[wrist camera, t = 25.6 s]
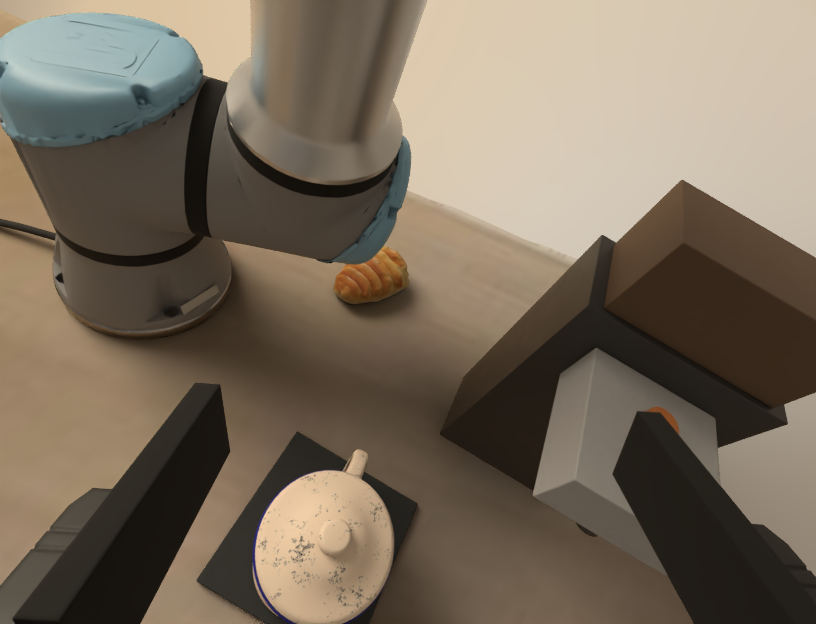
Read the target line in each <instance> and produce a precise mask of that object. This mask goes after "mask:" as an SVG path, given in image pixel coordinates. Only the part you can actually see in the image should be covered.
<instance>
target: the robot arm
mask: <svg viewBox="0 0 816 624" xmlns="http://www.w3.org/2000/svg"><path fill="white" fill-rule="evenodd" d="M426 3H427V0H251V57H250V58H248V59H247V60H245V61H244V62H242V63H241V64H240V65H239V66H238V67H237V68H236V69H235V71H234V72H233V74H232V76H231V77H230V80H229V82H228V83H227V82H223V81H220V80H217V79H213V78H210V77H207V76H204V75H203V69H202V63H201V62H200V60H199V58H198V55H197V53H196V51H195V49H194V48H193V47H192V45H191V44H190V43H189V42H188V41H187V40H186V39H184V38H181V37H179V35H178V34H177V33H176V32H175V31H173V30H171V29H169V28H167V27H165V26H163V25H160V24H157V23H155V22H151V21H148V20H145V19H141V18H135V17H131V16H124V15H118V14H109V13H73V14H64V15H59V16H51V17H46V18H41V19H38V20H34V21H31V22H28V23H25V24H23V25H21V26H18V27H16V28H15V29H13V30H11V31H10V32H8V33H7V34H5V35H4V36H2V37H1V38H0V116H1V117H0V121H1V125H2V127H3V129H4V131H5V132H6V133H7V135H8V136H10V138H11V140H12V142H13V144H14V146H15V148H16V150H17V152H18V155H19V157H20V159H21V161H22V163H23V165H24V167H25V169H26V171H27V173H28V175H29V177H30V179H31V181H32V183H33V185H34V187H35V189H36V191H37V193H38V195H39V197H40V199H41V201H42V203H43V205H44V208H45V210H46V212H47V214H48V216H49V218H50V220H51V222H52V224H53V226H54V228H55V231H56V233H52V232H49V231H45V230H42V229H38V228H35V227H31V226H28V225H24V224H20V223H16V222H12V221H7V220H3V219H0V226H2V227H6V228H11V229H15V230H19V231H23V232H27V233H30V234H34V235H37V236H41V237H44V238H48V239H51V240H55V247H54V256H53V278H54V283H55V287H56V290H57V292H58V294H59V296H60V298H61V299H62V301H63V303H64V305H65V306H66V308H67V309H68V310H69V311H70V313H71V314H72V315H73V316H74V317H75V318H77V319H78V320H79V321H81V322H82V323H83V324H85V325H87V326H88V327H90V328H92V329H95V330H97V331H99V332H102V333H105V334H108V335H112V336H116V337H122V338H131V339H150V338H159V337H165V336H170V335H173V334H177V333H180V332H183V331H185V330H188V329H190V328H192V327H194V326H196V325H198V324H200V323H201V322H203V321H204V320H206V319H207V318H209V317H210V316H211V315H212V314H213V313H214V312H215V311H216V310H217V309H218V308H219V307H220V306H221V305H222V303H223V302H224V300H225V299H226V297H227V295H228V292H229V289H230V285H231V261H230V257H229V254H228V251H227V248H226V246H225V244H224V243H223V241H222V240H224V241H229V242H235V243H240V244H245V245H250V246H255V247H260V248H265V249H270V250H275V251H280V252H285V253H289V254H294V255H299V256H303V257H308V258H313V259H316V260H318V261H321V262H324V263H333V262H338V263H345V264H353V265H357V264H362V263H365V262H367V261H369V260H371V259H372V258H373V257H374V256H375V255H376V254H377V253H378V252H379V251H380V250H381V248H382V247H383V246H384V244H385V243H386V241H387V239H388V238H389V236H390V234H391V232H392V230H393V228H394V226H395V223H396V217H397V212H398V210H399V209H400V208H401V207H402V204H403V201H404V198H405V195H406V191H407V187H408V181H409V176H410V168H411V151H410V145H409V143H408V141H407V139H406V138H405V137H404V136H403V135H402V123H401V119H400V115H399V112H398V110H397V108H396V106H395V104H394V102H393V98H394V95H395V92H396V89H397V86H398V83H399V80H400V77H401V75H402V72H403V69H404V66H405V63H406V60H407V57H408V54H409V52H410V49H411V46H412V43H413V40H414V37H415V34H416V32H417V28H418V26H419V23H420V20H421V17H422V14H423V11H424V8H425V6H426ZM229 453H230V447H229V440H228V434H227V427H226V420H225V414H224V407H223V400H222V394H221V387H220V385H218V384H203V383H195V384H194V385H193V386H192V388H191V389H190V390H189V392H188V393H187V394H186V395H185V397H184V398H183V399H182V401H181V402H180V403H179V404H178V406H177V407H176V408H175V410H174V411H173V412H172V413H171V415H170V416H169V417H168V419H167V420H166V421H165V422H164V424H163V425H162V426H161V428H160V429H159V430H158V431H157V433H156V434H155V435H154V437H153V438H152V439H151V440H150V442H149V443H148V444H147V446H146V447H145V448H144V449H143V451H142V452H141V453H140V455H139V456H138V457H137V458H136V460H135V461H134V462H133V464H132V465H131V466H130V467H129V469H128V470H127V471H126V473H125V474H124V475H123V476H122V478H121V479H120V480H119V482H118V483H117V484H116V485H115V487H114V488H113V489H99V488H92V489H91V490H90V491H88V492H87V493H85V494H84V495H83V496H81V497H80V498H79V499H77V500H76V501H74V502H73V503H72V504H70V505H69V506H68V507H67V508H66V509H65V511H64V512H63V513H62V514H61V515H60V516H59V518H58V519H57V520H56V521H55V522H54V523H53V525H52V526H51V528H50V531H47V532H46V533H45V534H44V535H43V536H42V538H41V539H40V540H39V541H38V542H37V543H36V545H35V548H34V549H31V550H30V552H29V553H28V554H27V555H26V556H25V557H24V559H23V560H22V561H21V562H20V563H19V564H18V566H17V567H16V568H15V569H14V570H13V571H12V573H11V574H10V575H9V576H8V577H7V578H6V580H5V581H4V582H3V583H2V584H1V585H0V624H140V623H141V621H142V619H143V617H144V615H145V614H146V612H147V610H148V608H149V606H150V604H151V602H152V600H153V598H154V596H155V594H156V593H157V591H158V589H159V587H160V585H161V583H162V581H163V579H164V577H165V575H166V573H167V571H168V570H169V568H170V566H171V564H172V562H173V560H174V558H175V556H176V554H177V552H178V550H179V548H180V547H181V545H182V543H183V541H184V539H185V537H186V535H187V533H188V531H189V529H190V527H191V525H192V524H193V522H194V520H195V518H196V516H197V514H198V512H199V510H200V508H201V506H202V504H203V502H204V501H205V499H206V497H207V495H208V493H209V491H210V489H211V487H212V485H213V483H214V481H215V479H216V478H217V476H218V474H219V472H220V470H221V468H222V466H223V464H224V462H225V460H226V458H227V456H228V455H229ZM612 475H613V477H614V478H615V480H616V482H617V484H618V486H619V487H620V489H621V491H622V493H623V495H624V497H625V498H626V500H627V502H628V504H629V506H630V508H631V509H632V511H633V513H634V515H635V517H636V519H637V520H638V522H639V524H640V526H641V528H642V529H643V531H644V533H645V535H646V537H647V539H648V540H649V542H650V544H651V546H652V548H653V550H654V551H655V553H656V555H657V557H658V559H659V561H660V562H661V564H662V566H663V568H664V570H665V571H666V573H667V575H668V577H669V579H670V581H671V582H672V584H673V586H674V588H675V590H676V592H677V593H678V595H679V597H680V599H681V601H682V602H683V604H684V606H685V608H686V610H687V612H688V613H689V615H690V617H691V619H692V621H693V623H694V624H816V577H815V576H814V575H813V573H812V572H811V571H808V570H807V569H806V565H805V564H804V563H803V562H802V561H801V559H799V557H798V556H797V555H796V554H795V553H794V551H793V550H792V549H791V548H790V547H789V545H788V544H787V543H785V542H784V541H783V540H781V539H780V538H779V537H778V536H777V535H775V534H774V533H773V532H771V531H770V530H769V529H768V528H767V527H765V526H764V525H758V524H751V523H750V521H749V520H748V519H747V518H746V517H745V515H744V514H743V513H742V512H741V510H740V509H739V508H738V507H737V505H736V504H735V503H734V502H733V501H732V499H731V498H730V497H729V496H728V494H727V493H726V492H725V491H724V490H723V488H722V487H721V486H720V485H719V483H718V482H717V481H716V480H715V479H714V477H713V476H712V475H711V474H710V472H709V471H708V470H707V469H706V467H705V466H704V465H703V464H702V463H701V461H700V460H699V459H698V458H697V456H696V455H695V454H694V453H693V452H692V450H691V449H690V448H689V447H688V445H687V444H686V443H685V442H684V441H683V439H682V438H681V437H680V436H679V434H678V433H677V432H676V431H675V429H674V428H673V427H672V426H671V425H670V423H669V422H668V421H667V420H666V418H665V417H664V416H663V415H662V414H661V413H660V412H644V411H637V413H636V415H635V418H634V420H633V423H632V425H631V428H630V430H629V433H628V435H627V438H626V440H625V443H624V445H623V448H622V450H621V453H620V455H619V458H618V460H617V463H616V465H615V468H614V471H613V473H612Z"/></svg>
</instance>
